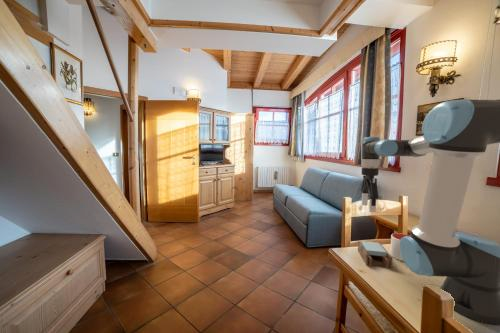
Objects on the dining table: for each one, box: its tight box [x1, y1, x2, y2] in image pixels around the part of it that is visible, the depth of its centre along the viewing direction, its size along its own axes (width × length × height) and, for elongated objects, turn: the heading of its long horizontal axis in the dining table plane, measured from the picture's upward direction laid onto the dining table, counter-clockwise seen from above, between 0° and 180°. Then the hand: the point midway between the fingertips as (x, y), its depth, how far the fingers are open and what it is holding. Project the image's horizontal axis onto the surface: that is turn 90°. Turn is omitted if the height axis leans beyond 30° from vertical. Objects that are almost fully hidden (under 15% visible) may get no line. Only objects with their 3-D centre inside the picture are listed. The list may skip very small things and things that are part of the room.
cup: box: [389, 232, 411, 262], centre depth 99 cm, size 10×10×10 cm
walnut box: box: [357, 241, 394, 269], centre depth 97 cm, size 14×10×5 cm
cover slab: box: [360, 240, 388, 257], centre depth 99 cm, size 10×8×2 cm
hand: (368, 208), depth 109 cm, fingers open, 13 cm apart
